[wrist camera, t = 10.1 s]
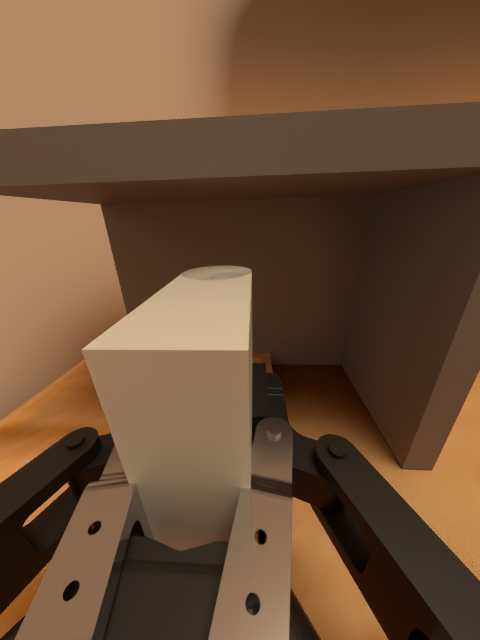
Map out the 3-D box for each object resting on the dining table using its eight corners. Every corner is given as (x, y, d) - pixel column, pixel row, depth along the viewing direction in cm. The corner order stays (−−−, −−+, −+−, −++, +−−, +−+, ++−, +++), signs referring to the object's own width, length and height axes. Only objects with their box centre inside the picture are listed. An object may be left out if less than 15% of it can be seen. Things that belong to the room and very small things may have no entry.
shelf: (432, 470, 16) (611, 93, 8) (64, 455, 18) (-94, 134, 10) (351, 356, 29) (388, 171, 21) (145, 354, 31) (107, 182, 23)
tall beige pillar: (252, 622, 9) (248, 350, 4) (175, 616, 9) (81, 350, 4) (253, 438, 16) (252, 264, 11) (210, 437, 16) (191, 266, 11)
